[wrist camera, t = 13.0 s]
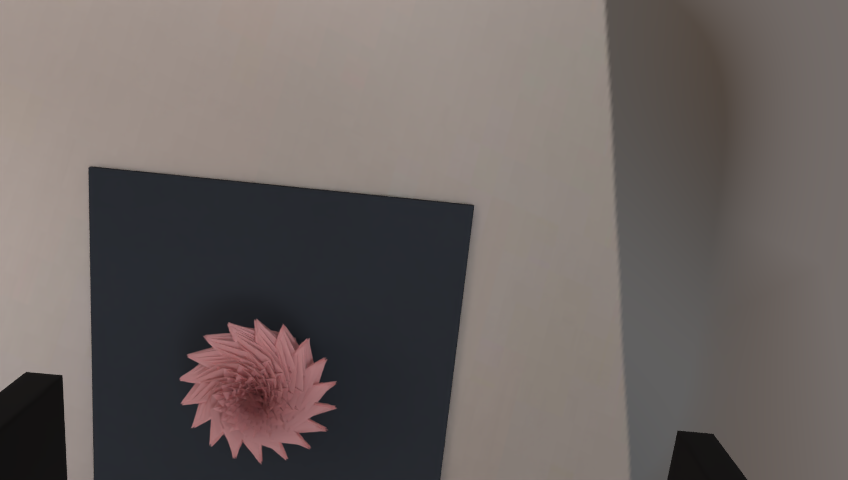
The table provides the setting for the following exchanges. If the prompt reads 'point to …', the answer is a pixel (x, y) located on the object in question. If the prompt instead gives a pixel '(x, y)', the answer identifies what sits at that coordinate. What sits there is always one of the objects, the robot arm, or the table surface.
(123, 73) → the table surface
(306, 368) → the flower
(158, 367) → the mat
